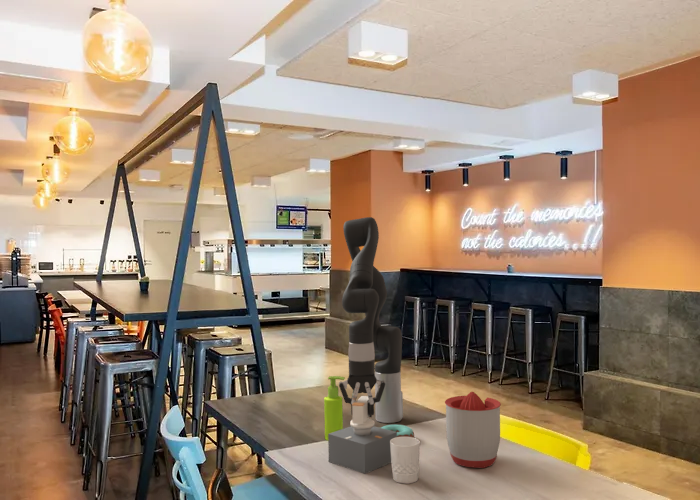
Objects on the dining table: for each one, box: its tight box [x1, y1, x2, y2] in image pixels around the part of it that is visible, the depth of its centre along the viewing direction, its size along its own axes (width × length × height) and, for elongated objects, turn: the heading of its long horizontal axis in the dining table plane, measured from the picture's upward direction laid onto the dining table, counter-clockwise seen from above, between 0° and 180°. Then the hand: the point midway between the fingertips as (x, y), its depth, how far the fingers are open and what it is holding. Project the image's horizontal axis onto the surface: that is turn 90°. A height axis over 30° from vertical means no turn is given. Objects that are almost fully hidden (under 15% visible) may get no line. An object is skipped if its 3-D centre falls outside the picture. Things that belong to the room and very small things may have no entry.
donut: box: [380, 424, 415, 438], centre depth 186 cm, size 12×12×4 cm
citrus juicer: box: [444, 391, 501, 469], centre depth 168 cm, size 16×17×20 cm
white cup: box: [390, 437, 421, 484], centre depth 155 cm, size 8×8×10 cm
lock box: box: [327, 425, 397, 474], centre depth 169 cm, size 14×14×10 cm
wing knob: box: [349, 395, 376, 429], centre depth 169 cm, size 11×7×7 cm, turn 165°
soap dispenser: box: [323, 375, 346, 441], centre depth 189 cm, size 6×7×20 cm
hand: (362, 416), depth 169 cm, fingers closed on wing knob, 3 cm apart
